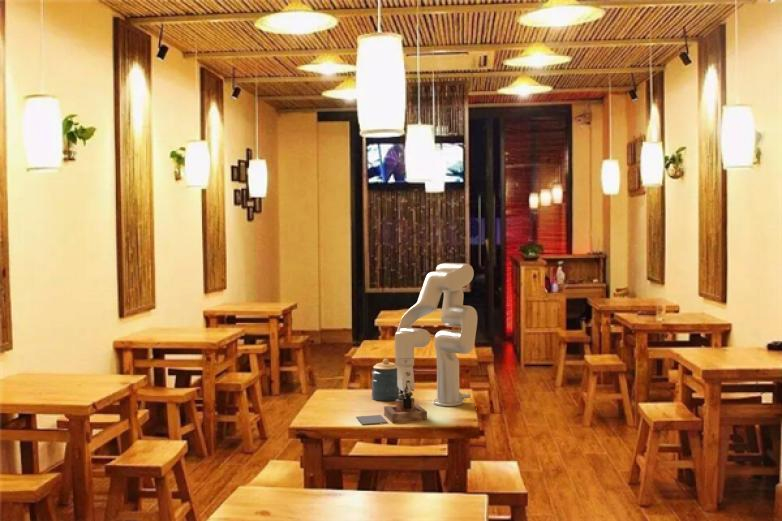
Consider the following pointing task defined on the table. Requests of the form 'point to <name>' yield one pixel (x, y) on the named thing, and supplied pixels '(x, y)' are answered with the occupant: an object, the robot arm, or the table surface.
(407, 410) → the lighter
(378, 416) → the charcoal mat
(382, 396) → the canister
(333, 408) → the table surface
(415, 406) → the frame
